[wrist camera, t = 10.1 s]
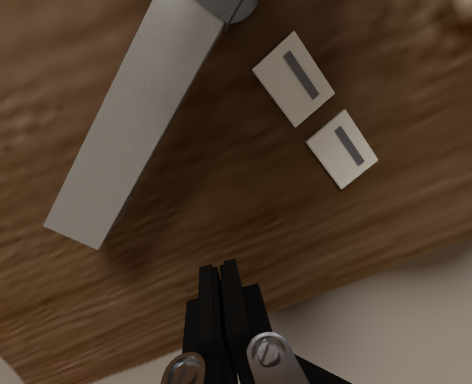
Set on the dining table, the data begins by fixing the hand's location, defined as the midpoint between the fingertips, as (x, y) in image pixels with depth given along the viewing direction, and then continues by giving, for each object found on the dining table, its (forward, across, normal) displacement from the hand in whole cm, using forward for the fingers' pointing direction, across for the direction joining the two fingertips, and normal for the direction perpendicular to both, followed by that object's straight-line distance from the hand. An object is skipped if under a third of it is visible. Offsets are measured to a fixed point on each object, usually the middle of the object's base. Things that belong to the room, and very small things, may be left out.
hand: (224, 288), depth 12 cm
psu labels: (+17, -12, -4) cm, 21 cm away
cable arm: (+15, +4, -8) cm, 18 cm away
